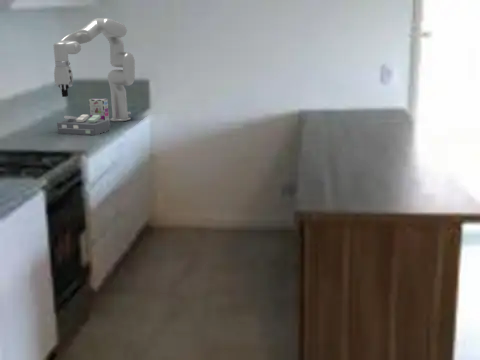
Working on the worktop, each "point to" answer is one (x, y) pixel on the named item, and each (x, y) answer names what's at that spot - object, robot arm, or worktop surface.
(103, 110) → the candy bar box
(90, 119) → the rocker sage
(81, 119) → the rocker ivory
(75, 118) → the rocker grey
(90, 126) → the console
